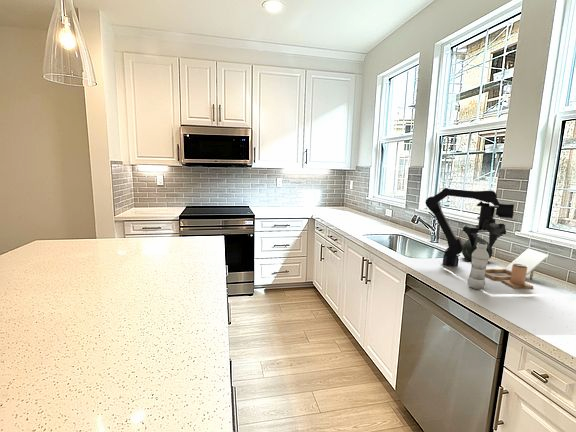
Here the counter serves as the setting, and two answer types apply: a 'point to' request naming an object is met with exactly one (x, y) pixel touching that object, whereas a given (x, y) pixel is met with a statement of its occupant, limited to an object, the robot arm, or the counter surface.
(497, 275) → the wooden tray
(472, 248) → the squash
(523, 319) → the counter surface
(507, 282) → the stand
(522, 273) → the pot
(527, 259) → the propped lid
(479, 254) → the plastic bottle
